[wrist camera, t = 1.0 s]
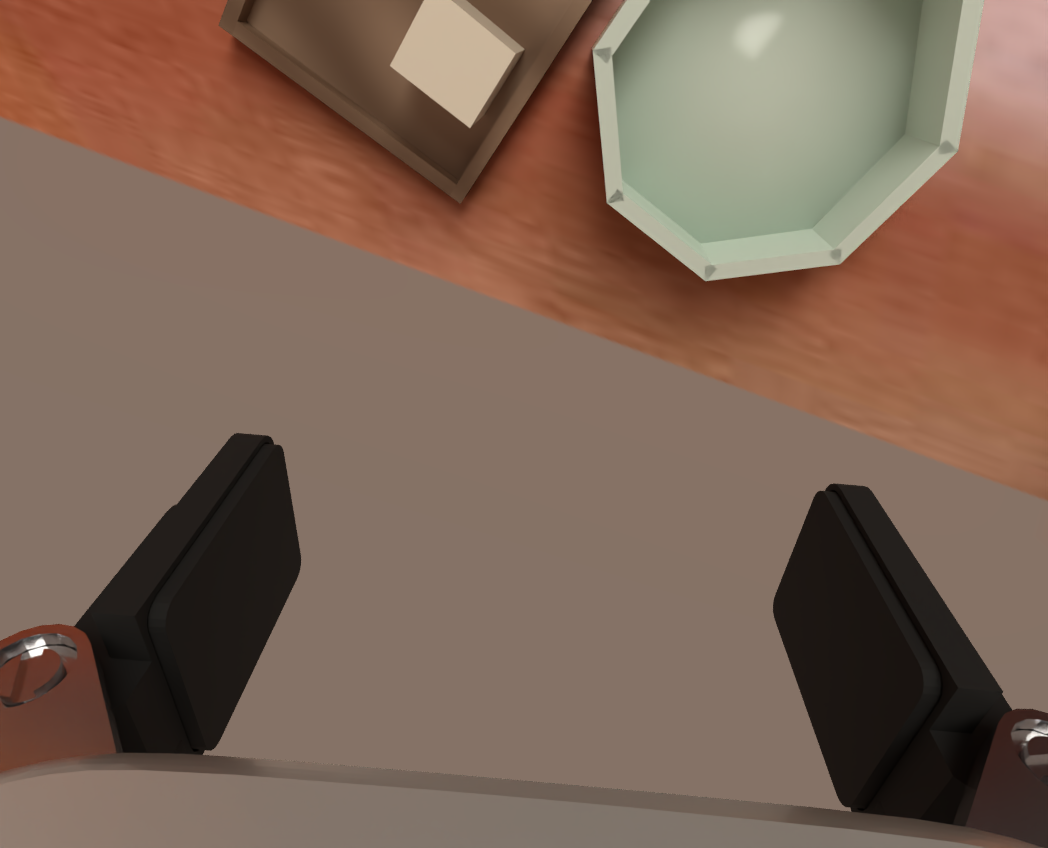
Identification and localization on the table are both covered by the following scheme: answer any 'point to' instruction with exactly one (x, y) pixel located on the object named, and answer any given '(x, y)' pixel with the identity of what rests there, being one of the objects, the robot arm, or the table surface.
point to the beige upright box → (457, 57)
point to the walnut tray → (384, 94)
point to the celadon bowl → (777, 121)
